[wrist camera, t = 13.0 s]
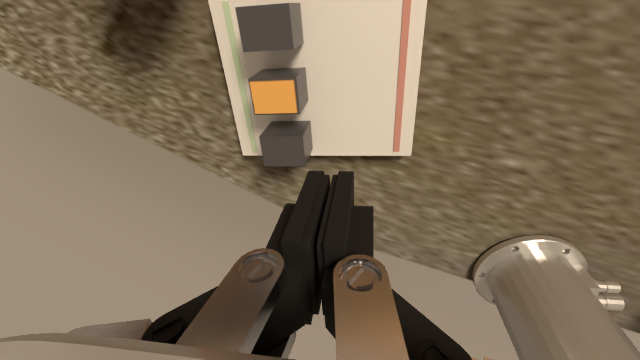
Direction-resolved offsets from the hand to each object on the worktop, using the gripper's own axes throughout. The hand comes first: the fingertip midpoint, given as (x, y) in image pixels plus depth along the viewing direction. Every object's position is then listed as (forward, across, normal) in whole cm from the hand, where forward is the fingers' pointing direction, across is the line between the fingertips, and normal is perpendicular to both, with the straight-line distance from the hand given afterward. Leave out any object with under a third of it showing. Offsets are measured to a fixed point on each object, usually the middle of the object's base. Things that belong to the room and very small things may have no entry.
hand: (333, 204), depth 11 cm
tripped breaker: (+18, +7, -1) cm, 19 cm away
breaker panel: (+20, +4, -1) cm, 21 cm away
